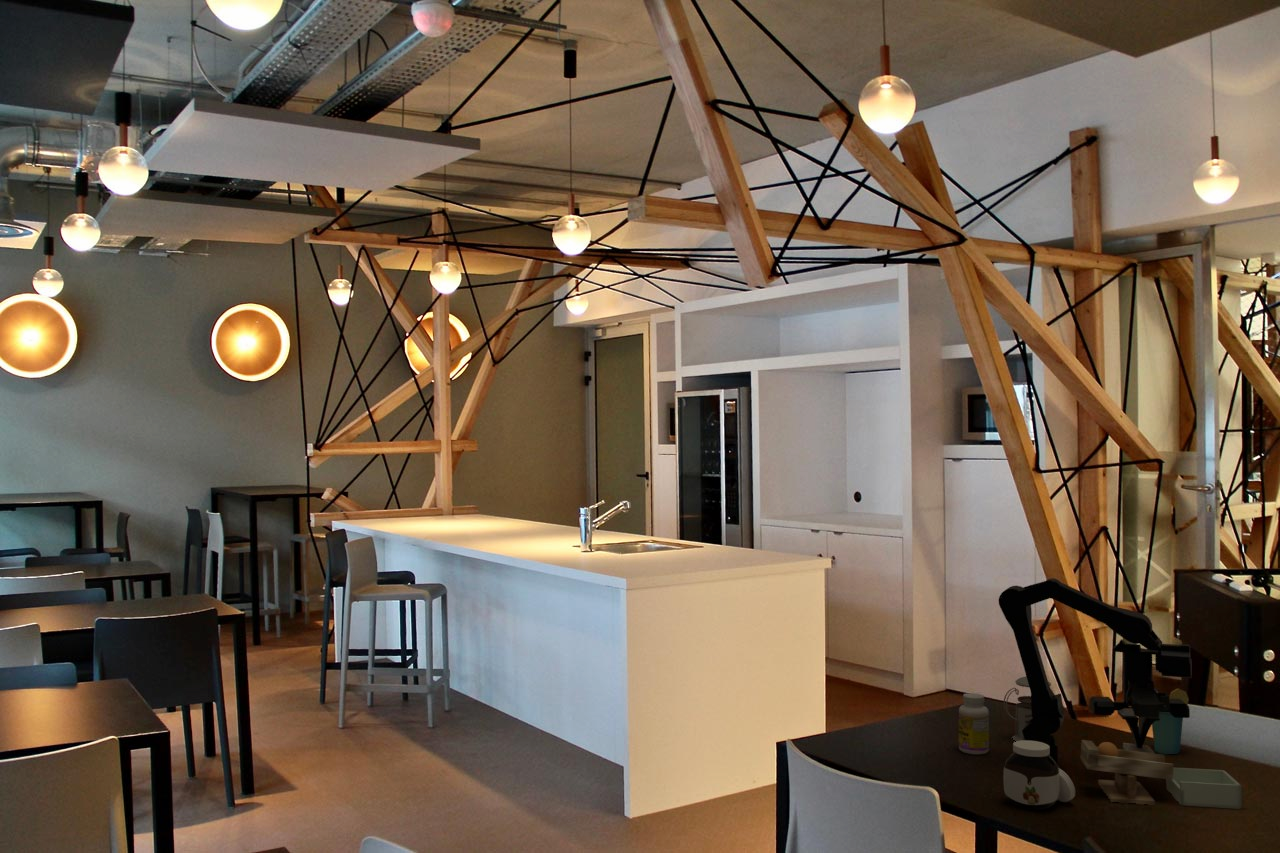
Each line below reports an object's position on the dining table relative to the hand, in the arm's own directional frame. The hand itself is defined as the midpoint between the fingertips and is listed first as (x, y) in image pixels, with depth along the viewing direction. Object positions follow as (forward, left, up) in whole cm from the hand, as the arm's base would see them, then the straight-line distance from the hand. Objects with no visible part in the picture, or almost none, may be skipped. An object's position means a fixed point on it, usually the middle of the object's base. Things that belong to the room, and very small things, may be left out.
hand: (1139, 747), depth 230 cm
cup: (+11, +22, -7) cm, 25 cm away
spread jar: (-23, -20, -7) cm, 31 cm away
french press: (-18, +26, -7) cm, 33 cm away
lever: (-5, -6, -2) cm, 8 cm away
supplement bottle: (-32, +14, -7) cm, 36 cm away
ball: (-9, -11, +2) cm, 14 cm away
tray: (+9, -11, -7) cm, 16 cm away
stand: (-5, -11, -7) cm, 14 cm away
